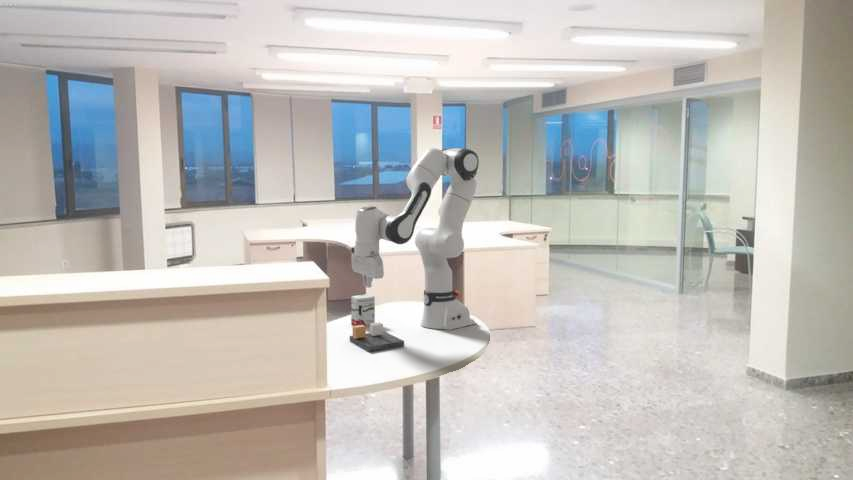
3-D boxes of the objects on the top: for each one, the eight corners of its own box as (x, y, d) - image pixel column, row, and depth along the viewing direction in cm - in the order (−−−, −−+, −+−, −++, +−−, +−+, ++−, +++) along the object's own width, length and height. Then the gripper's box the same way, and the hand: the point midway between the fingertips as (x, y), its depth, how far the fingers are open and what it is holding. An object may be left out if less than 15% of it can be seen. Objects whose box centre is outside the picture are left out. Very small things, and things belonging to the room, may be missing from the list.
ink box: (356, 327, 258) (356, 298, 257) (351, 324, 263) (350, 296, 261) (375, 324, 263) (375, 295, 262) (369, 321, 267) (369, 293, 266)
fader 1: (362, 335, 238) (362, 324, 237) (365, 337, 235) (365, 326, 235) (352, 337, 236) (352, 325, 235) (355, 338, 233) (355, 327, 233)
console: (383, 336, 245) (383, 330, 245) (404, 346, 232) (404, 340, 231) (349, 341, 238) (349, 335, 238) (368, 352, 225) (368, 346, 224)
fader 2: (379, 332, 241) (379, 322, 241) (382, 334, 239) (382, 323, 239) (370, 334, 239) (370, 323, 239) (373, 335, 237) (373, 325, 237)
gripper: (387, 253, 234) (388, 290, 236) (363, 246, 252) (363, 281, 253) (372, 254, 231) (372, 292, 233) (348, 247, 248) (348, 283, 250)
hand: (367, 286), depth 243 cm, fingers closed
